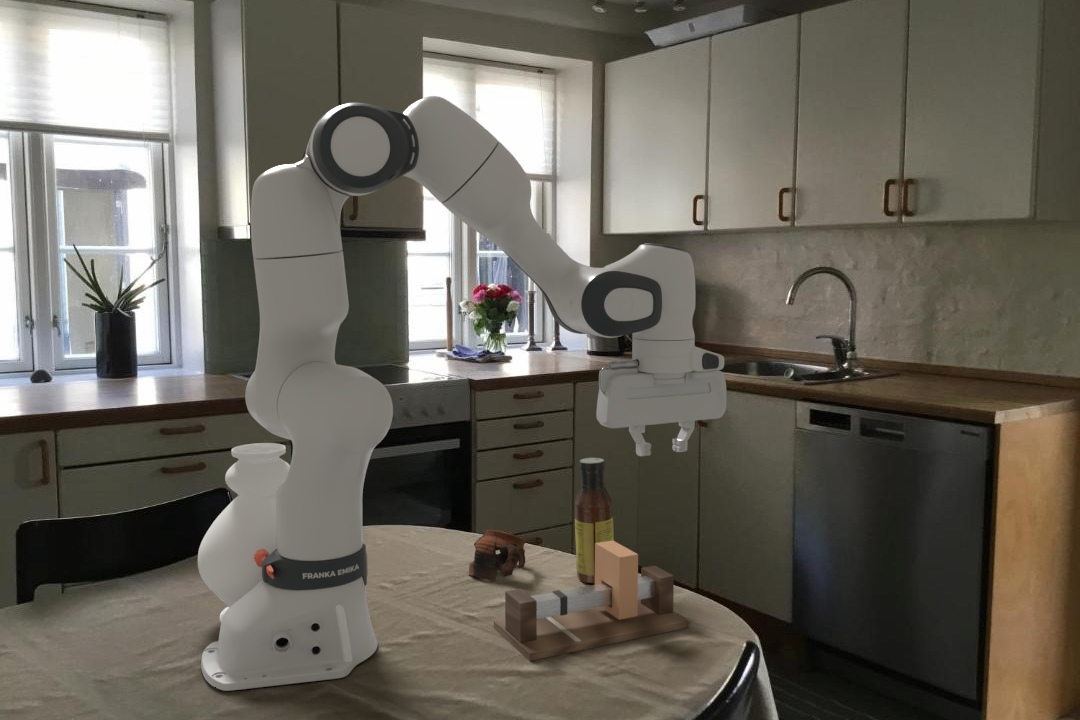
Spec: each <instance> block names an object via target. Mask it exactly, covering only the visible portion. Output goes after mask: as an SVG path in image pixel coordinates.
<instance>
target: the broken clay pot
mask: <svg viewBox="0 0 1080 720" xmlns="http://www.w3.org/2000/svg"><path fill="white" fill-rule="evenodd" d="M525 544H526V541H525V540H524V538H523V539H522V538H520V537H518V535H514V534H512V533H509V532H505V531H502V530H494V529H484V530H483V531H482V536H480V537H479V538H477V540H476V541H475V542H474V544H473V546H474V548H475V550H474V557H473V559H474V560H473V561H470V562H469V564H468V576H471V577H477V578H479V579H482V580H486V581H491V582H496V579H497V574H498V572H499V574H500V575H501V576H502V577H504V578H505V577H509V576H512V575H513V573H514V571H515V568H516V566H517V564H518V567H519V568H520V569H521V568H524V567H525V564H526V555H525V553H526V549H525V548H524V547H525ZM496 551H499V553H496Z"/></svg>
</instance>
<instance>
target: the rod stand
mask: <svg viewBox="0 0 1080 720" xmlns="http://www.w3.org/2000/svg"><path fill="white" fill-rule="evenodd" d="M674 578H675V577H674V575H673V574H671V573H670V572H668V571H666V570H664V569H662V568H660V567H658V566H657V565H655V564H654V565H650V566H643V567H641V568H640V576H638V609H637V616H635V617H630V618H625V619H620V620H619V619H617V618H616V617H614V616H613V615H612V614H610V613H609V612H607V611H606V610H604V609H603V608H601V607H604V606H609V605H612V586H610V585H608V584H607V583H602V584H597V585H595V584H592V585H586V586H581V587H575V588H568V589H563V590H559V589H557V590H553V591H552V592H547V593H542V594H536V595H530V594H528V593H527V592H526V591H525V590H523V589H522V588H518V589H517V588H516V589H513V590H512V589H511V590H506V591H505V592H504V594H505V595H504V599H505V604H504V605H505V607H504V609H505V611H504V612H505V614H504V615H505V616H504V617H505V618H503V619H502V618H501V619H497V620H493V629H494V630H496V632H498V633H499V634H500V635H501V636H502V637H503V638H504V639H505V640H506V641H507V642H509V643H510V644H511V645H512V646H513V647H514V649H516V650H517V651H518V652H519V653H520V654H522V655H523V656H524V657H525V659H527V661H529V662H530V661H535V660H541V659H546V658H551V657H554V656H559V655H565V654H569V653H574V652H578V651H583V650H589V649H593V648H597V647H601V646H607V645H612V644H616V643H621V642H626V641H631V640H635V639H640V638H645V637H649V636H654V635H658V634H659V635H660V634H663V633H669V632H674V631H679V630H682V629H687V628H689V624H690V621H689V619H687V618H685V617H683V616H682V615H680V614H679V613H677V612H676V611H674V589H675V588H674V582H675V581H674V580H675V579H674Z"/></svg>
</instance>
